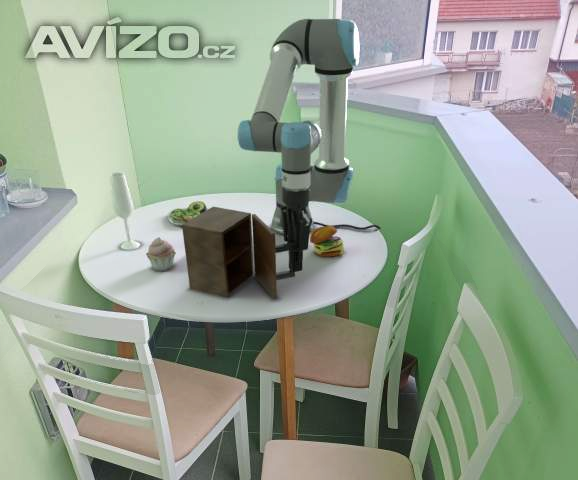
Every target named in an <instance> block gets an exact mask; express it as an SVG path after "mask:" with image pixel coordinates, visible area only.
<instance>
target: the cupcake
mask: <svg viewBox="0 0 578 480" xmlns="http://www.w3.org/2000/svg"><path fill="white" fill-rule="evenodd" d="M176 253H177V252H176V251H175V249H174V247H173V245H172V244H170V243H169V242H168V241H167V240H165V239H162V238H161V237H160V236H159V237H155V238H154V239H153V240H152V241H151V244H150V245H149V246H148V251H147V252H146V253H145V255H146V258H147V259H148V260H149V262H150V264H151V267H152V269H153V270H154V271H158V272H165V271H169V270H171V269H172V268H173V266H174V260H175V256H176Z"/></svg>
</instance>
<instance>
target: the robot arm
mask: <svg viewBox="0 0 578 480" xmlns="http://www.w3.org/2000/svg"><path fill="white" fill-rule="evenodd" d="M269 62H270V63H269V65H268V69H267V72H266V75H265V78H264V81H263V84H262V86H261V90H260V92H259V94H258V95H259V96H258V98H257V101H256V103H255V107H254V110H253V113H252V115H251V119H246V120H242V121H240V122H239V123H238V128H237V142H238V146H239V148H240V149H242V150H244V151H251V152H264V153H266V152H267V153H279V154H280V153H281V162H280V163H279V164H277V165H276V168H275V176H274V181H275V210H274V213H273V216H272V219H271V230H272V231H273V232H274V233H277V234H279V235H283V241H284V242H285V243H291V242H294V243H295V249H293V272H295V273H297V272H301V271H303V263H304V262H303V260H304V251H307V250H309V243H310V242H309V241H310V235H311V232H312V231H313V230H314V225H317V226H320V227H324V226H330V225H331V224H330V225H329V224H325V223H322V222H318V221H314V219H313V216H312V213H311V209H310V204H309V203H310V202H315V203H324V204H325V203H327V204H333V205H334V204H345V203H346V202H347V201H348V199H349V196H350V192H351V189H352V184H353V179H354V169H353V168H352V167H350V161H349V159H347V158H346V136H347V135H346V134H347V132H346V131H347V106H348V105H347V104H348V81H349V80H348V79H349V77H350V76H352V74H353V73H354V68H355V67H356V66H358V65H359V63H360V36H359V30H358V27H357V24H356V23H355V21H353V20H350V19H343V18H303V19H298V20H296V21H294V22H292V23H291V24H290V25H288V26H287V27H286V28H285V29H284V30H282V31H281V33H280V34H279V35H278V37H276V39H275V40H274V42H273V44H272V46H271V49H270V52H269ZM302 65H308V66H309V65H311V66H314V74H315V75H316V76H317V77H318V79H319V102H318V105H319V108H318V109H319V110H318V124H317V122H315V121H314V120H303V121H291V122H283V121H282V122H281V117H282V114H283V111H284V107H285V105H286V101H287V98H288V96H289V92H290V89H291V86H292V83H293V80H294V77H295V74H296V73H297V72H298V71H299V70H300V68H301V66H302ZM317 148H318V158H316V159H315V160H314V162H313V163H314V165H311V162H312V161H311V160H312V154H313V153H314V152H315V151H316V150H317ZM332 226H333V227H335V228H343V227H345V228H349V229H354V230H361V231H363V230H368V229H372V228H376V229H378V230H381V229H382V228H381V227H380V226H379V225H377V224H371V225H367V226H364V227H363V226H362V227H359V226H355V225H351V224H345V223H343V224H333V225H332ZM288 269H289V270H290V251H288Z"/></svg>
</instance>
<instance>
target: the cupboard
mask: <svg viewBox="0 0 578 480" xmlns="http://www.w3.org/2000/svg"><path fill="white" fill-rule="evenodd" d="M181 228H182V229H181V230H182V236H183V244H184V251H185V252H184V253H185V261H186V268H187V275H188V277H187V278H188V285H189V290H191V291H196V292H200V293H205V294H208V295H212V296H216V297H221V298H224V299H228V298H229V297H230V296H231V295H233V294H234V293H235V292H237V291H238V290H239V289H240V288H241V287H243V286H244V285H245V284H247V283H248V282H249V281H250V280H251V279H252V278H253V277H255V270H254V249H253V229H252V213H251V212H247V211H241V210H235V209H229V208H225V207H217V206H211V207H209V209H208V210H206V211H205V212H203V213H201V214H199V215H198V216H196V217H194V218H193V219H191V220H189V221H187V222H186V223H184V224H182V227H181Z"/></svg>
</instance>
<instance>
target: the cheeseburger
mask: <svg viewBox="0 0 578 480" xmlns="http://www.w3.org/2000/svg"><path fill="white" fill-rule="evenodd" d="M336 233H338V229H337V227H333V226H332V225H331V224H330V226H319V227H316V228H313V229H312V230H311V232H310V235H309V241H310V242H309V243H311V244H313V249H314V252H315V254H316V255H318V256H320V257H325V258H328V257H329V258H330V257H334V256H335V257H336V256H338V255H339V256H341V255H342V254H344V252H345V247H344V244H343V243H344V240H343V238H341V236H335V235H336Z"/></svg>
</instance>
